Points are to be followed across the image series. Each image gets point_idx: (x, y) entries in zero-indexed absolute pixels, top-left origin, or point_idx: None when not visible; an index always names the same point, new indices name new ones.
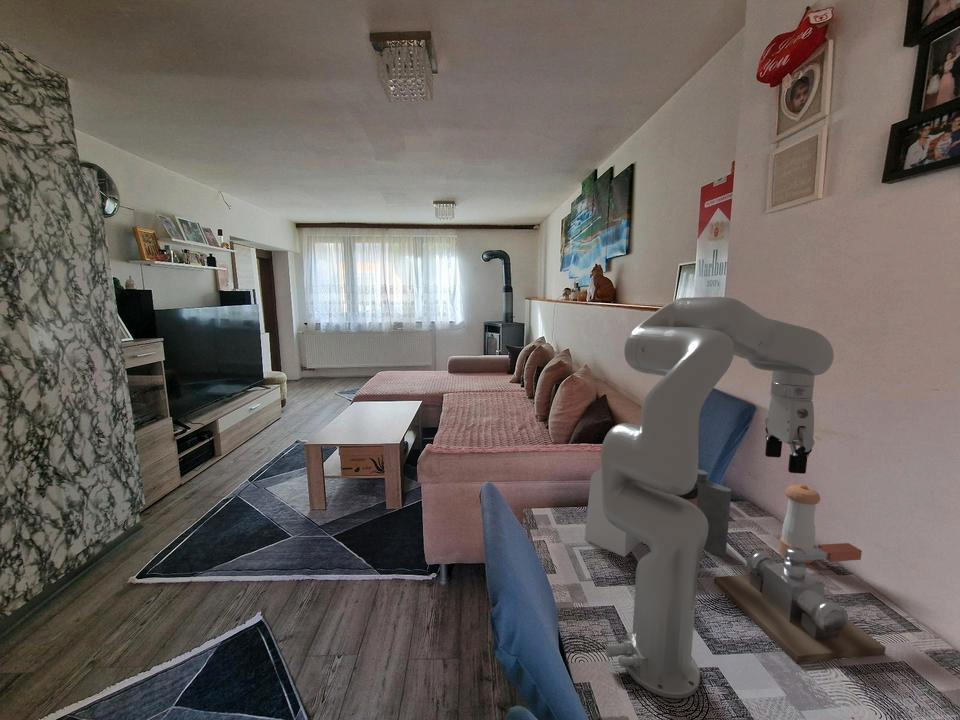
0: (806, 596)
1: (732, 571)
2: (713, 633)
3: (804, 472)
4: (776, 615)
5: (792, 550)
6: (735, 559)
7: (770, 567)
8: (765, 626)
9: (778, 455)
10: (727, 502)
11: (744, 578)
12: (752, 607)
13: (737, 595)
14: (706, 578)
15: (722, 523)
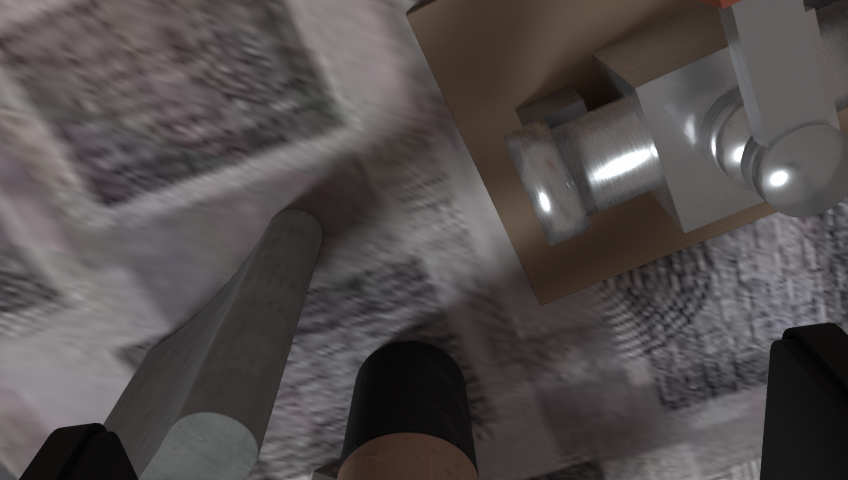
0: (845, 104)
1: (432, 212)
2: None
3: (830, 337)
4: None
5: (808, 191)
6: (328, 179)
7: (700, 214)
8: None
9: (111, 471)
10: (269, 380)
11: (518, 202)
12: None
13: (640, 252)
14: (514, 309)
15: (298, 316)
